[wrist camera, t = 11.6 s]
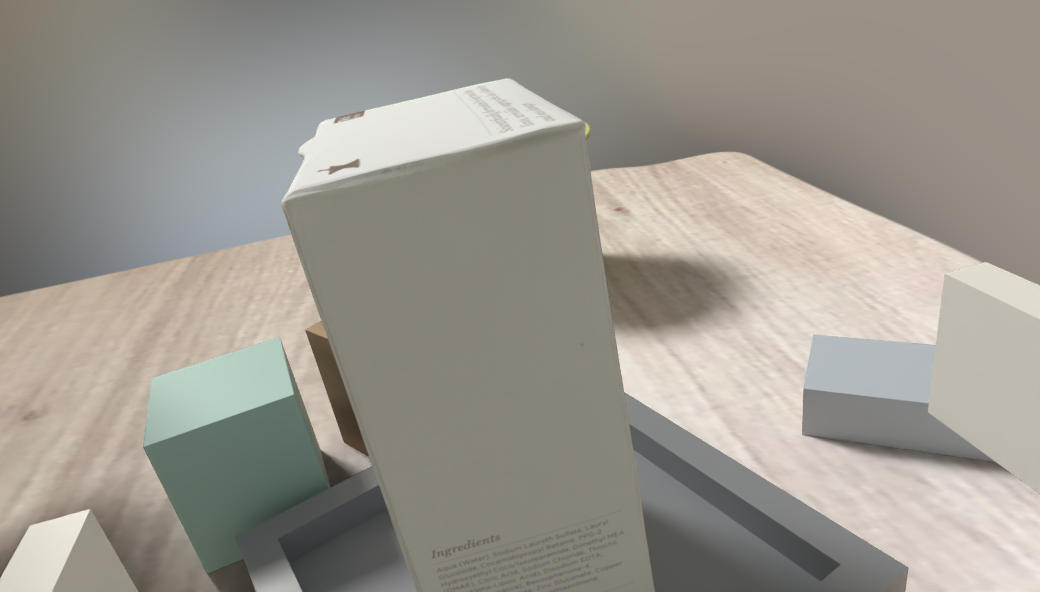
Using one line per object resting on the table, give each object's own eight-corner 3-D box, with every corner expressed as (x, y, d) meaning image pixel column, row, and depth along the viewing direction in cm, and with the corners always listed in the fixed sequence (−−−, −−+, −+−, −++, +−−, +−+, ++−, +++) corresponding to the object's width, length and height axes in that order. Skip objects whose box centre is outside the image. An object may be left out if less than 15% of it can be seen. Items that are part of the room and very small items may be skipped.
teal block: (207, 574, 26) (142, 446, 23) (206, 494, 30) (151, 378, 27) (340, 520, 27) (293, 394, 25) (320, 450, 31) (279, 336, 29)
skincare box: (670, 671, 19) (617, 119, 12) (449, 736, 18) (266, 193, 11) (584, 471, 26) (522, 63, 20) (426, 512, 26) (307, 105, 19)
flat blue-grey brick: (801, 440, 27) (803, 388, 26) (811, 383, 31) (813, 334, 29) (1052, 477, 24) (1066, 419, 23) (1034, 408, 27) (1046, 354, 26)
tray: (442, 1057, 13) (419, 1013, 12) (253, 577, 25) (234, 536, 24) (902, 617, 20) (908, 567, 19) (580, 398, 32) (575, 361, 31)
